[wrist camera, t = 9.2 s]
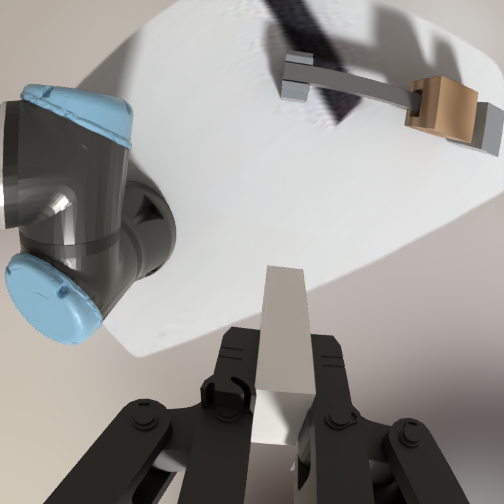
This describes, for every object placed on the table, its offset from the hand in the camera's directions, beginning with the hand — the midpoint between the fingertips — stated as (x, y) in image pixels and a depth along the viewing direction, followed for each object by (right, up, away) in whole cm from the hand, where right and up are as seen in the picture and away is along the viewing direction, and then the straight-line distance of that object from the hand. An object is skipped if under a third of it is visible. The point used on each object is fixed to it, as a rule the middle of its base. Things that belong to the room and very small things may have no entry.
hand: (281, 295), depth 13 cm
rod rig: (+16, +22, +20) cm, 34 cm away
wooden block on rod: (+21, +20, +18) cm, 34 cm away
